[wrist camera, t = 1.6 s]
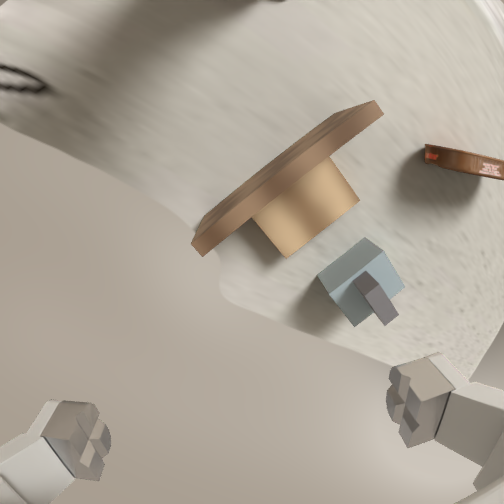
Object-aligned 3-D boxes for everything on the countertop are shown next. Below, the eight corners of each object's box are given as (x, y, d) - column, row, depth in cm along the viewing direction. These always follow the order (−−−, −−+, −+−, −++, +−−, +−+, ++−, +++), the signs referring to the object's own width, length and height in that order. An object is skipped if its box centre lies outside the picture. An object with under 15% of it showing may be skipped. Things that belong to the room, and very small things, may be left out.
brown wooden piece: (334, 113, 35) (374, 99, 24) (377, 175, 38) (428, 187, 26) (204, 215, 38) (190, 243, 27) (254, 273, 41) (261, 320, 29)
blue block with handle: (364, 237, 40) (399, 262, 31) (385, 269, 42) (420, 300, 32) (316, 274, 41) (338, 310, 32) (340, 305, 43) (365, 344, 33)
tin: (488, 157, 37) (526, 162, 29) (487, 177, 38) (524, 185, 30) (413, 141, 36) (449, 142, 28) (412, 165, 37) (448, 170, 29)
